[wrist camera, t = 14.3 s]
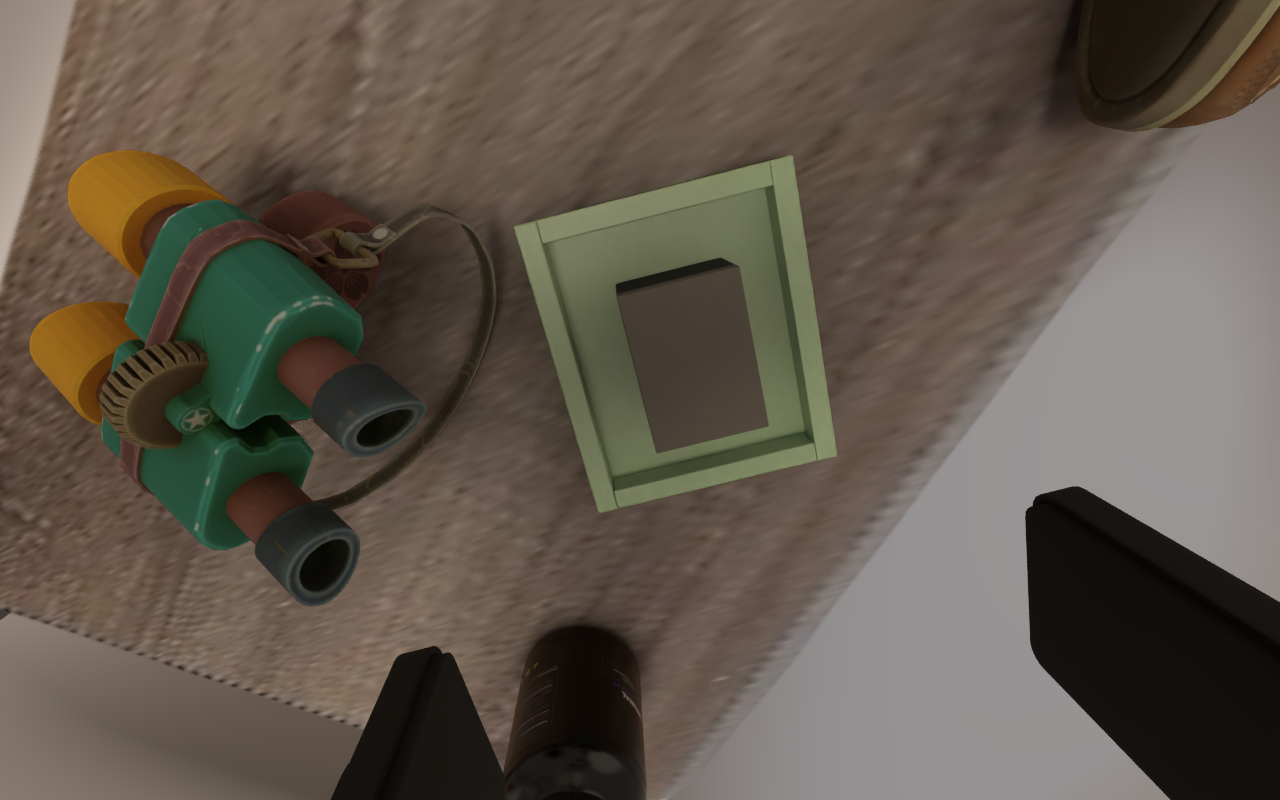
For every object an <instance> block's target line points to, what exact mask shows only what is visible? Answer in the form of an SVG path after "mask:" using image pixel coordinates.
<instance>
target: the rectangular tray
mask: <svg viewBox="0 0 1280 800" xmlns="http://www.w3.org/2000/svg"><path fill="white" fill-rule="evenodd" d="M513 229H514V232H515V235H516V239H517V242H518V245H519V249H520V252H521V255H522V259H523V262H524V265H525V269H526V272H527V275H528V279H529V282H530V285H531V289H532V292H533V296H534V299H535V302H536V306H537V309H538V312H539V316H540V319H541V322H542V326H543V329H544V332H545V336H546V339H547V342H548V346H549V349H550V352H551V356H552V359H553V363H554V366H555V369H556V373H557V376H558V379H559V383H560V386H561V389H562V393H563V396H564V399H565V403H566V406H567V409H568V413H569V416H570V419H571V423H572V426H573V429H574V433H575V436H576V440H577V443H578V446H579V450H580V453H581V456H582V460H583V463H584V466H585V470H586V473H587V476H588V480H589V483H590V486H591V490H592V493H593V496H594V500H595V503H596V507H597V510H598V512H599V513H602V512H606V511H611V510H615V509H617V508H623V507H627V506H631V505H635V504H639V503H644V502H648V501H652V500H656V499H660V498H664V497H668V496H672V495H677V494H681V493H685V492H689V491H693V490H697V489H701V488H706V487H710V486H714V485H718V484H722V483H726V482H730V481H734V480H739V479H743V478H747V477H751V476H755V475H759V474H763V473H768V472H772V471H776V470H780V469H784V468H788V467H792V466H796V465H801V464H805V463H809V462H813V461H816V459H817V460H823V459H827V458H831V457H835V456H837V451H836V444H835V437H834V431H833V424H832V417H831V410H830V404H829V397H828V390H827V383H826V377H825V370H824V363H823V356H822V350H821V343H820V336H819V329H818V323H817V316H816V309H815V302H814V296H813V289H812V282H811V275H810V269H809V262H808V255H807V248H806V242H805V235H804V228H803V221H802V215H801V208H800V201H799V194H798V188H797V181H796V174H795V167H794V161H793V155H789V156H785V157H781V158H777V159H774V160H770V161H766V162H762V163H758V164H754V165H750V166H746V167H742V168H738V169H734V170H730V171H727V172H723V173H719V174H715V175H711V176H707V177H703V178H699V179H695V180H691V181H687V182H684V183H680V184H676V185H672V186H668V187H664V188H660V189H656V190H652V191H648V192H644V193H641V194H637V195H633V196H629V197H625V198H621V199H617V200H613V201H609V202H605V203H601V204H598V205H594V206H590V207H586V208H582V209H578V210H574V211H570V212H566V213H562V214H558V215H554V216H551V217H547V218H543V219H539V220H535V221H531V222H527V223H523V224H519V225H515V226H514V228H513ZM716 258H723V259H725V260H727V261H729V262H731V263H733V264H736V265H738V266H739V267H740V272H741V277H742V283H743V288H744V293H745V299H746V304H747V310H748V315H749V320H750V326H751V331H752V337H753V342H754V347H755V353H756V358H757V364H758V369H759V374H760V380H761V385H762V391H763V396H764V401H765V407H766V412H767V418H768V423H769V426H768V427H765V428H761V429H756V430H752V431H748V432H744V433H740V434H736V435H732V436H728V437H724V438H720V439H715V440H711V441H707V442H703V443H699V444H695V445H691V446H687V447H683V448H679V449H674V450H670V451H666V452H662V453H658V454H657V453H656V450H655V446H654V442H653V438H652V435H651V431H650V427H649V423H648V419H647V415H646V411H645V407H644V403H643V399H642V395H641V391H640V387H639V383H638V379H637V376H636V372H635V368H634V364H633V360H632V356H631V352H630V348H629V344H628V340H627V336H626V332H625V328H624V324H623V320H622V317H621V313H620V309H619V305H618V301H617V295H616V284H617V283H621V282H625V281H629V280H633V279H637V278H641V277H645V276H649V275H653V274H656V273H660V272H664V271H668V270H672V269H676V268H680V267H684V266H688V265H692V264H696V263H700V262H704V261H708V260H712V259H716Z"/></svg>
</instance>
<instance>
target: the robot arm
mask: <svg viewBox="0 0 1280 800" xmlns="http://www.w3.org/2000/svg"><path fill="white" fill-rule="evenodd" d="M1025 519H1026V545H1027V570H1028V596H1029V621H1030V642H1031V647H1032V650H1033V653H1034V655H1035V657H1036V659H1037V660H1038V662H1039V663H1040V665H1041V666H1042V667H1043V668H1044V669H1045V670H1046V671H1047V672H1048V674H1050V675H1051V677H1052V678H1053V679H1054V680H1055V681H1056V682H1057V683H1058V684H1059V685H1060V686H1061V687H1062V688H1063V689H1064V690H1065V691H1066V692H1067V693H1068V694H1069V695H1070V696H1071V697H1072V698H1073V699H1074V700H1075V701H1076V702H1077V703H1078V705H1080V706H1081V708H1082V709H1083V710H1084V711H1085V712H1086V713H1087V714H1088V715H1089V716H1090V717H1091V718H1092V719H1093V720H1094V721H1095V722H1096V723H1097V724H1098V725H1099V726H1100V727H1101V728H1102V729H1103V730H1104V731H1105V732H1106V733H1107V734H1108V736H1109V737H1111V739H1112V740H1113V741H1114V742H1115V743H1116V744H1117V745H1118V746H1119V747H1120V748H1121V749H1122V750H1123V751H1124V752H1125V753H1126V754H1127V755H1128V756H1129V757H1130V758H1131V759H1132V760H1133V761H1134V762H1135V763H1136V764H1137V766H1138V767H1139V768H1140V769H1141V770H1142V771H1143V772H1144V773H1145V774H1146V775H1147V776H1148V777H1149V778H1150V779H1151V780H1152V781H1153V782H1154V783H1155V784H1156V785H1157V786H1158V787H1159V788H1160V789H1161V790H1162V791H1163V792H1164V793H1165V794H1166V795H1167V797H1169V799H1170V800H1280V602H1278V601H1277V600H1275V599H1273V598H1272V597H1270V596H1268V595H1266V594H1265V593H1263V592H1261V591H1259V590H1258V589H1256V588H1254V587H1253V586H1251V585H1249V584H1247V583H1246V582H1244V581H1242V580H1240V579H1239V578H1237V577H1235V576H1233V575H1232V574H1230V573H1228V572H1227V571H1225V570H1223V569H1222V568H1220V567H1218V566H1216V565H1215V564H1213V563H1211V562H1209V561H1208V560H1206V559H1204V558H1203V557H1201V556H1199V555H1197V554H1195V553H1194V552H1192V551H1190V550H1189V549H1187V548H1185V547H1183V546H1182V545H1180V544H1178V543H1176V542H1175V541H1173V540H1171V539H1170V538H1168V537H1166V536H1164V535H1163V534H1161V533H1159V532H1158V531H1156V530H1154V529H1153V528H1151V527H1149V526H1147V525H1146V524H1144V523H1142V522H1140V521H1139V520H1137V519H1135V518H1133V517H1132V516H1130V515H1128V514H1127V513H1125V512H1123V511H1122V510H1120V509H1118V508H1116V507H1115V506H1113V505H1111V504H1109V503H1108V502H1106V501H1104V500H1103V499H1101V498H1099V497H1097V496H1096V495H1094V494H1092V493H1090V492H1089V491H1087V490H1085V489H1083V488H1081V487H1069V488H1065V489H1061V490H1057V491H1053V492H1049V493H1045V494H1041V495H1038V496H1037V497H1035V499H1034V501H1033V506H1032V507H1030V508H1028V509H1027V511H1026V517H1025ZM505 799H506V787H505V780H504V775H503V772H502V770H501V768H500V765H499V763H498V760H497V758H496V756H495V753H494V751H493V749H492V746H491V744H490V741H489V739H488V737H487V734H486V732H485V730H484V727H483V725H482V723H481V720H480V718H479V715H478V713H477V711H476V708H475V706H474V704H473V701H472V699H471V697H470V694H469V692H468V689H467V687H466V685H465V682H464V680H463V678H462V675H461V673H460V671H459V668H458V666H457V663H456V661H455V659H454V657H453V655H452V654H451V653H444V654H442V652H441V650H440V649H439V648H438V647H435V646H432V647H428V648H424V649H420V650H416V651H412V652H408V653H404V654H401V655H399V656H398V657H397V658H396V660H395V661H394V664H393V666H392V668H391V670H390V673H389V675H388V677H387V679H386V682H385V684H384V686H383V688H382V691H381V693H380V695H379V697H378V700H377V702H376V704H375V707H374V709H373V711H372V713H371V716H370V718H369V720H368V722H367V725H366V727H365V729H364V731H363V734H362V736H361V738H360V741H359V743H358V745H357V747H356V750H355V752H354V754H353V757H352V759H351V761H350V763H349V764H348V765H347V767H346V769H345V770H344V772H343V774H342V775H341V778H340V780H339V782H338V784H337V787H336V789H335V791H334V793H333V796H332V798H331V800H505Z"/></svg>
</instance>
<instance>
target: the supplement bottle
mask: <svg viewBox="0 0 1280 800" xmlns="http://www.w3.org/2000/svg"><path fill="white" fill-rule="evenodd" d="M503 775H504V780H505V787H506V799H505V800H646V772H645V755H644V738H643V722H642V705H641V688H640V676H639V669H638V665H637V662H636V659H635V657H634V655H633V653H632V652H631V650H630V649H629V648H628V647H627V646H626V645H625V644H624V643H623V642H622V641H621V640H620V639H618V638H617V637H616V636H614V635H612V634H610V633H608V632H606V631H603V630H600V629H595V628H589V627H575V628H569V629H565V630H561V631H558V632H556V633H554V634H552V635H550V636H548V637H547V638H545V639H544V640H542V641H541V642H540V643H539V644H538V645H537V646H536V647H535V648H534V649H533V651H532V652H531V653H530V655H529V657H528V659H527V661H526V664H525V667H524V670H523V675H522V679H521V684H520V689H519V694H518V699H517V704H516V709H515V714H514V719H513V725H512V730H511V735H510V740H509V745H508V750H507V755H506V760H505V765H504V771H503Z"/></svg>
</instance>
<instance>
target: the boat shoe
mask: <svg viewBox="0 0 1280 800" xmlns="http://www.w3.org/2000/svg"><path fill="white" fill-rule="evenodd" d="M1279 83H1280V0H1084V3H1083V9H1082V14H1081V20H1080V26H1079V33H1078V42H1077V51H1076V61H1075V87H1076V96H1077V101H1078V105H1079V108H1080V110H1081V112H1082V114H1083V115H1084V117H1085V118H1087V119H1088V120H1089V121H1091V122H1093V123H1095V124H1097V125H1099V126H1104V127H1109V128H1114V129H1119V130H1124V131H1132V132H1136V131H1144V130H1150V129H1153V128H1156V127H1159V128H1180V127H1187V126H1194V125H1199V124H1203V123H1207V122H1211V121H1214V120H1218V119H1222V118H1225V117H1228V116H1231V115H1233V114H1235V113H1237V112H1238V111H1240V110H1242V109H1243V108H1245V107H1246V106H1248V105H1250V104H1252V103H1254V102H1255V101H1256V100H1257V99H1258V98H1260V97H1261V96H1262V95H1263V94H1265V93H1266V92H1267V91H1269V90H1271V89H1273V88H1274V87H1275V86H1277V85H1278V84H1279Z"/></svg>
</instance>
